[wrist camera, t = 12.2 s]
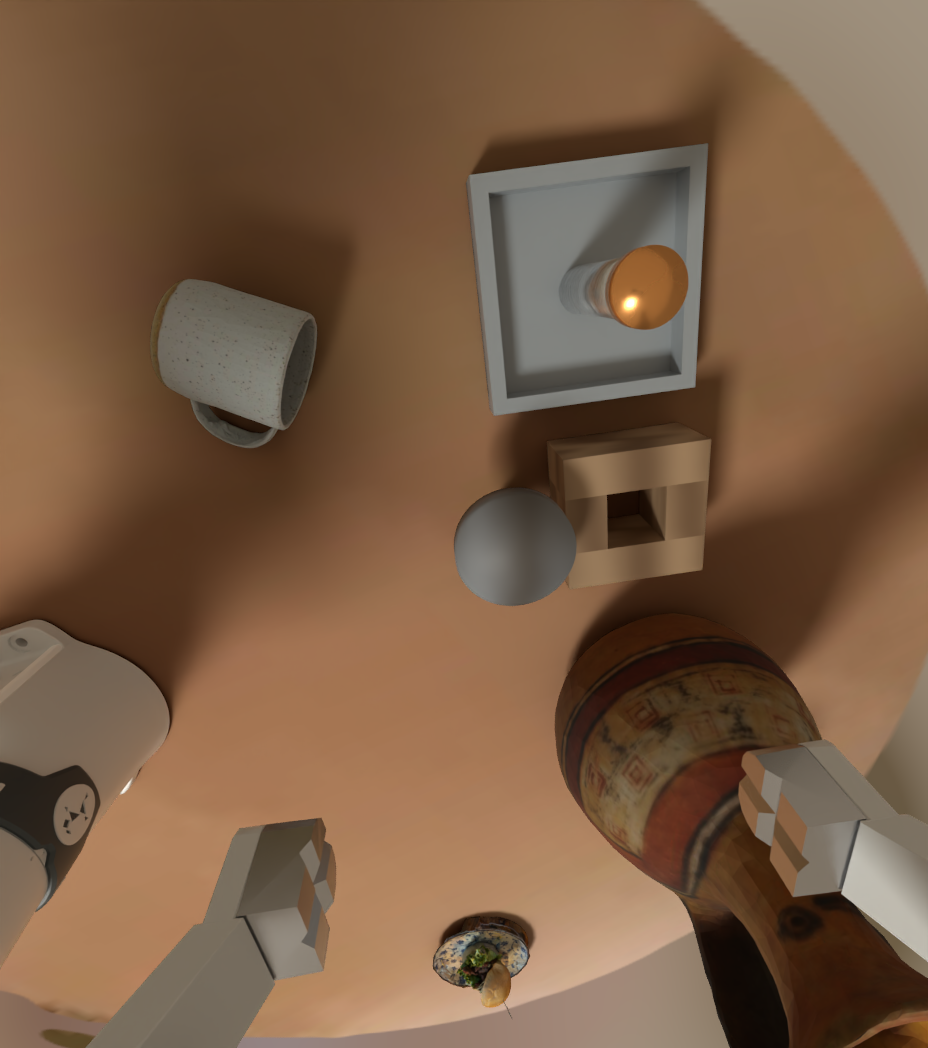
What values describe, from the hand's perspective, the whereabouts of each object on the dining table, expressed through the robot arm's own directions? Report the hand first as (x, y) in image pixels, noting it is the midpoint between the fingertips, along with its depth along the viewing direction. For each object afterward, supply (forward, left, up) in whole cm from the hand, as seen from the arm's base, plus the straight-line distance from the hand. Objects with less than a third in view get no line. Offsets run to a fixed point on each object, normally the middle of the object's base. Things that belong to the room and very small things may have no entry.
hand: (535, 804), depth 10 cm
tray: (+10, +8, -31) cm, 34 cm away
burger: (-5, -64, -32) cm, 72 cm away
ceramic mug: (-13, +6, -31) cm, 34 cm away
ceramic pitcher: (+15, -27, -31) cm, 44 cm away
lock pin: (+10, +8, -30) cm, 33 cm away
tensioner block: (+8, -7, -31) cm, 33 cm away
